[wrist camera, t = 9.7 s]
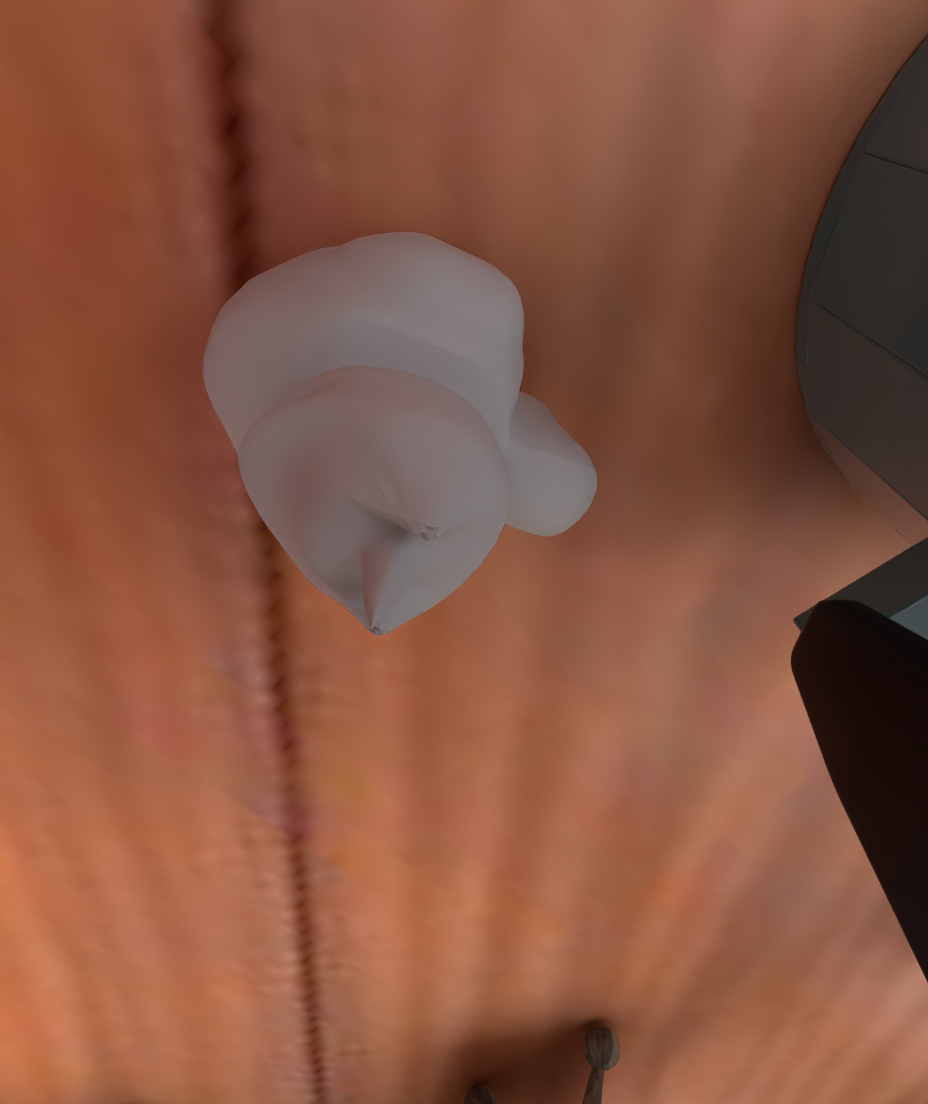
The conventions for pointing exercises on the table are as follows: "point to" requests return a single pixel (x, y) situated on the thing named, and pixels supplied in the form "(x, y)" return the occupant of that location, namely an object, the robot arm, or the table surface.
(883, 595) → the pot
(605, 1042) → the tabletop clock
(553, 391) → the table surface
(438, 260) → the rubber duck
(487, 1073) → the table surface
